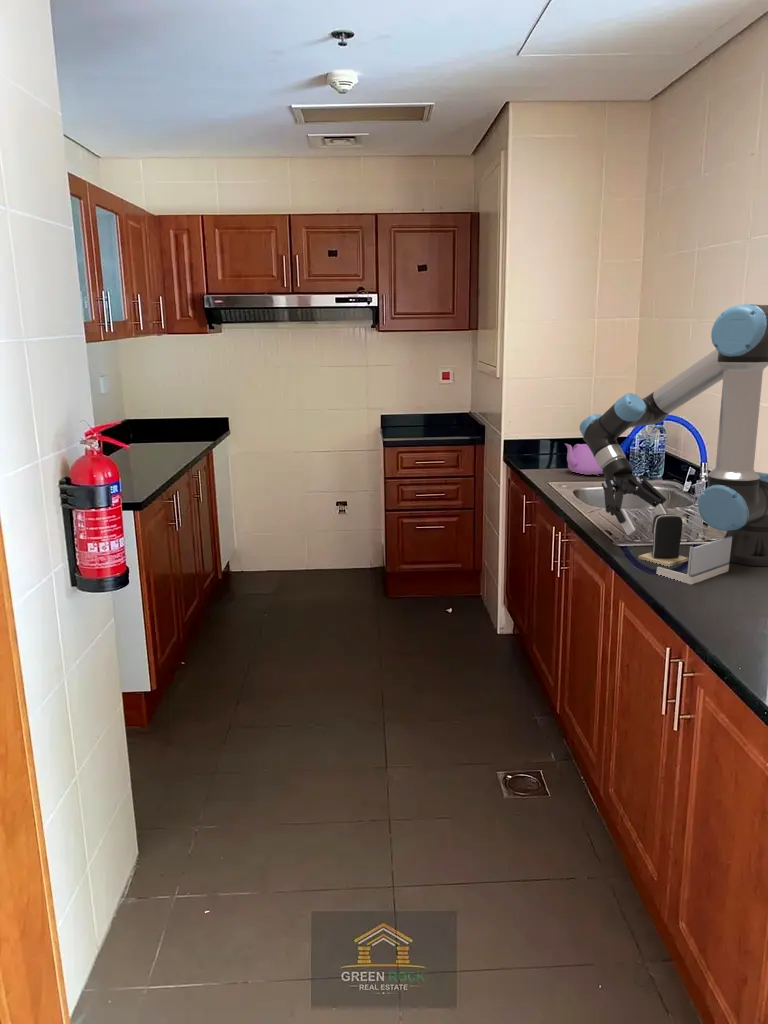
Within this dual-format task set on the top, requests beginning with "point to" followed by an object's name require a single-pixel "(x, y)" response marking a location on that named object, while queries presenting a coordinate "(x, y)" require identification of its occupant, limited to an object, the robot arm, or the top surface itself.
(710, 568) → the legged metal plate
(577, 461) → the teapot
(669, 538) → the battery charger
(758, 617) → the top surface
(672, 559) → the oak pad
